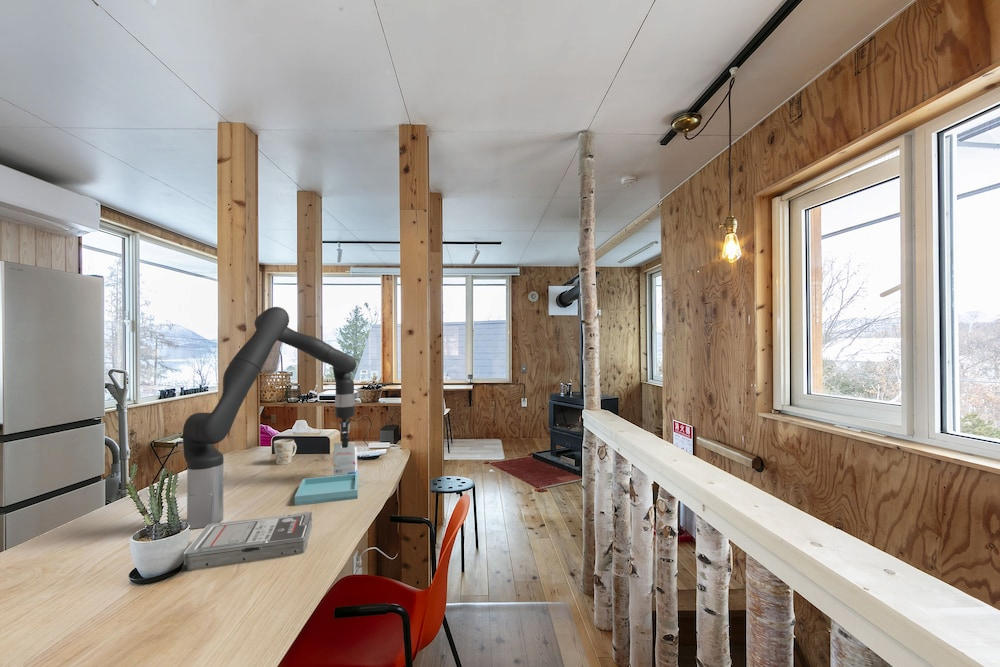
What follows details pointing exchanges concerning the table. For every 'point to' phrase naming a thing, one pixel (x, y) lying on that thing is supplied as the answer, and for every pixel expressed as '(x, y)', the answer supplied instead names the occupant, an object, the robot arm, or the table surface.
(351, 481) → the tray
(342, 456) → the ink box
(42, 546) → the table surface
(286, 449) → the mug
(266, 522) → the hard drive
